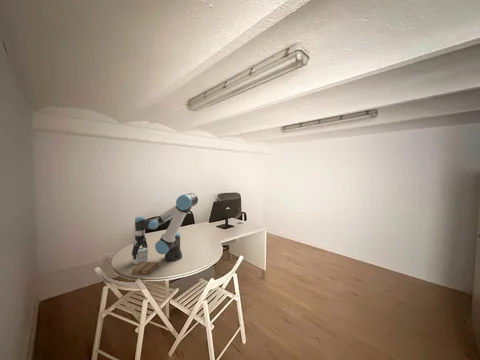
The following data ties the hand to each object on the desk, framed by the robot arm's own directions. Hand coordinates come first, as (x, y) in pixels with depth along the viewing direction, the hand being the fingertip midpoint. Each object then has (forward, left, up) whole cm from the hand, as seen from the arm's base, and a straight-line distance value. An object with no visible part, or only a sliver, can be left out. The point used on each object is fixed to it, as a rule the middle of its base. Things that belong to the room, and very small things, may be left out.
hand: (140, 259), depth 170 cm
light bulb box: (0, 0, -2) cm, 2 cm away
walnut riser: (-13, +13, -2) cm, 18 cm away
